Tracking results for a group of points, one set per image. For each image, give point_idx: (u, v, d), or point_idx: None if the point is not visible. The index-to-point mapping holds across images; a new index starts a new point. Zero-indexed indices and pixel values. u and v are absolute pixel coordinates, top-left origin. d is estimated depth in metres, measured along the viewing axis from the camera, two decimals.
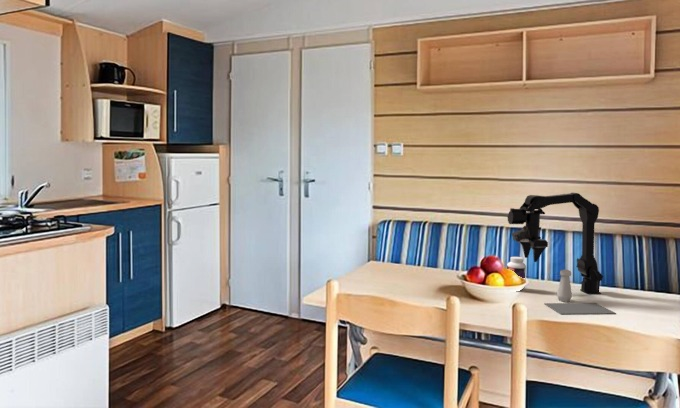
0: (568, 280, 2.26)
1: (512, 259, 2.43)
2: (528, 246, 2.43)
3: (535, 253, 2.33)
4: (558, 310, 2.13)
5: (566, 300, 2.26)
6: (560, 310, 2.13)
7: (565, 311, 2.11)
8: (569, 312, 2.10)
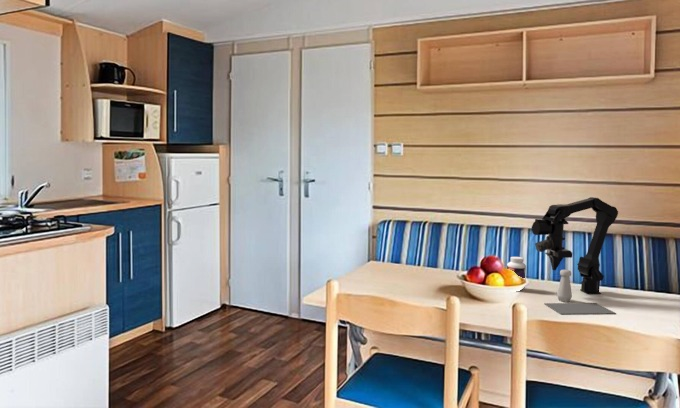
0: (568, 280, 2.26)
1: (512, 259, 2.43)
2: None
3: (554, 261, 2.35)
4: (558, 310, 2.13)
5: (566, 300, 2.26)
6: (560, 310, 2.13)
7: (565, 311, 2.11)
8: (569, 312, 2.10)
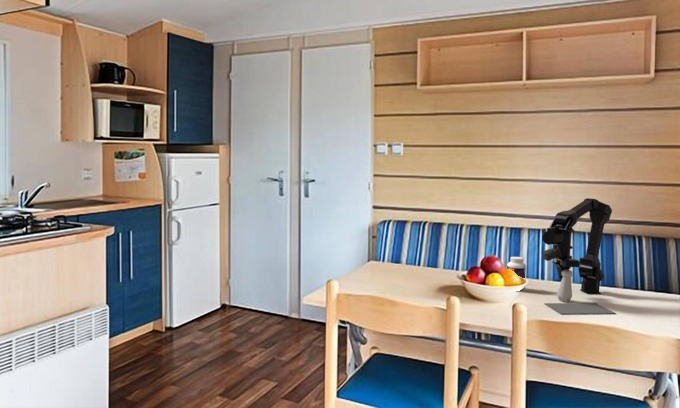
0: (569, 281, 2.25)
1: (512, 259, 2.43)
2: None
3: (561, 271, 2.29)
4: (558, 310, 2.13)
5: (566, 300, 2.26)
6: (560, 310, 2.13)
7: (565, 311, 2.11)
8: (569, 312, 2.10)
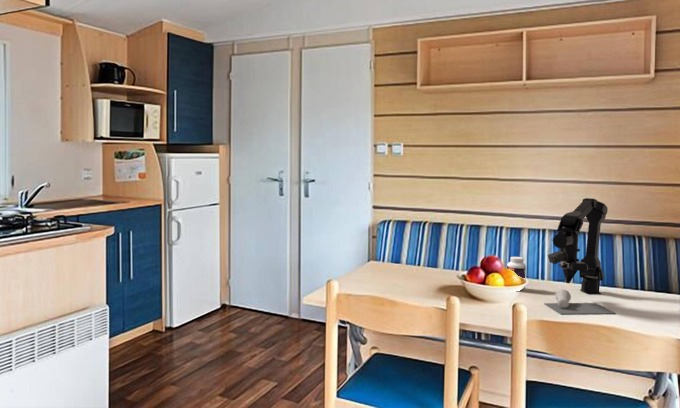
0: None
1: (512, 259, 2.43)
2: None
3: (568, 274, 2.23)
4: (558, 310, 2.13)
5: None
6: (560, 310, 2.13)
7: (565, 311, 2.11)
8: (569, 312, 2.10)
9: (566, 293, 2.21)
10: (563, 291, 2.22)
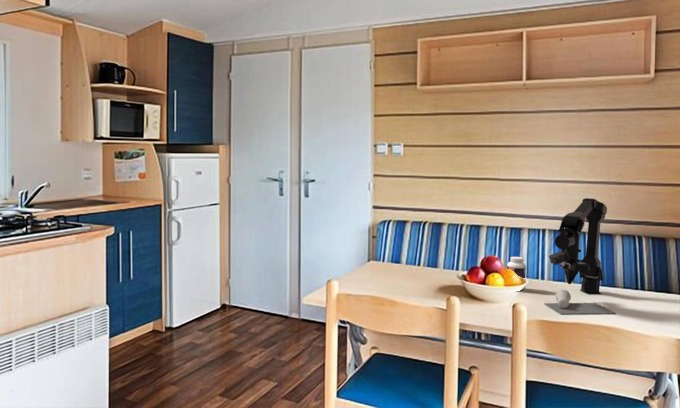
0: None
1: (512, 259, 2.43)
2: None
3: (569, 275, 2.22)
4: (558, 310, 2.13)
5: None
6: (560, 310, 2.13)
7: (565, 311, 2.11)
8: (569, 312, 2.10)
9: (566, 293, 2.21)
10: (563, 291, 2.22)
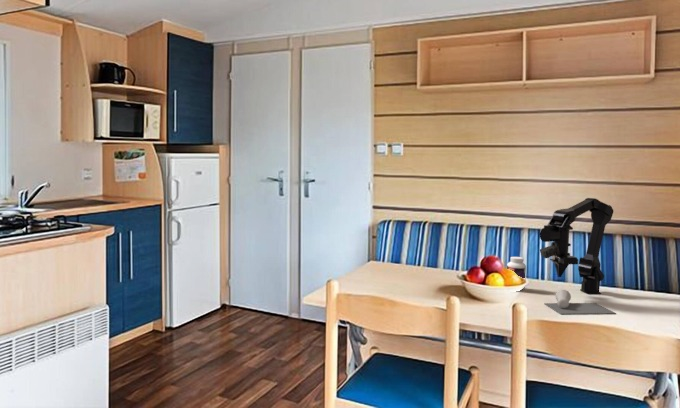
0: None
1: (512, 259, 2.43)
2: None
3: (559, 268, 2.30)
4: (558, 310, 2.13)
5: None
6: (560, 310, 2.13)
7: (565, 311, 2.11)
8: (569, 312, 2.10)
9: (566, 293, 2.21)
10: (563, 291, 2.22)
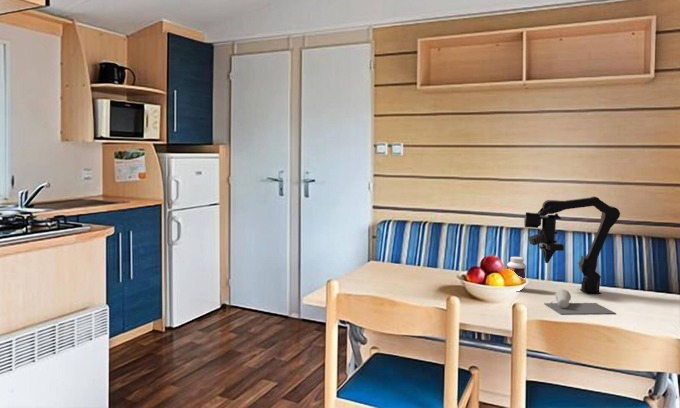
0: None
1: (512, 259, 2.43)
2: None
3: (547, 254, 2.44)
4: (558, 310, 2.13)
5: None
6: (560, 310, 2.13)
7: (565, 311, 2.11)
8: (569, 312, 2.10)
9: (566, 293, 2.21)
10: (563, 291, 2.22)
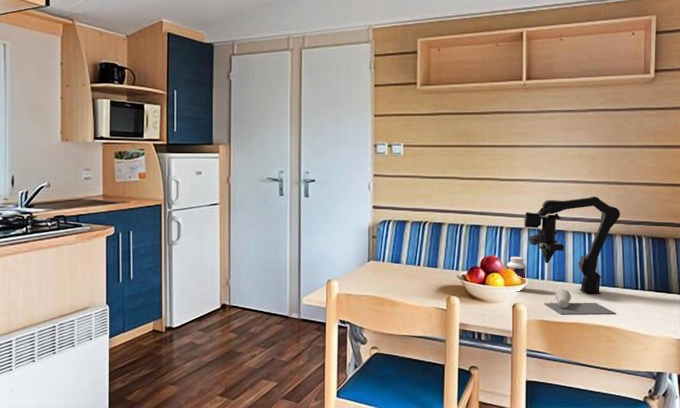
0: None
1: (512, 259, 2.43)
2: None
3: (547, 254, 2.44)
4: (558, 310, 2.13)
5: None
6: (560, 310, 2.13)
7: (565, 311, 2.11)
8: (569, 312, 2.10)
9: (566, 293, 2.21)
10: (563, 291, 2.22)
